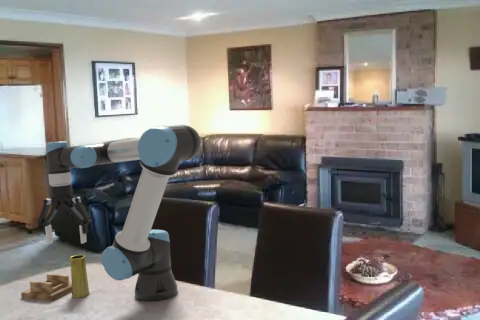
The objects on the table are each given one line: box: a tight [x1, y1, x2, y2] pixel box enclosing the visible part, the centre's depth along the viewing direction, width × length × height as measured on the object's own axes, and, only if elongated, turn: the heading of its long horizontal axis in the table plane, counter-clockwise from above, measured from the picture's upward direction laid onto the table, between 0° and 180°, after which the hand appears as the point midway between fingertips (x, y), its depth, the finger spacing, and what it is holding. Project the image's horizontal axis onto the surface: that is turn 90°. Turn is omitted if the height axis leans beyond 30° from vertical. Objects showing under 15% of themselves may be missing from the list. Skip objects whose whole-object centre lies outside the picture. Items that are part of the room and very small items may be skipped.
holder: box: [20, 273, 72, 302], centre depth 187 cm, size 14×14×6 cm
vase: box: [69, 254, 90, 299], centre depth 183 cm, size 6×6×14 cm
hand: (66, 243), depth 182 cm, fingers open, 13 cm apart
